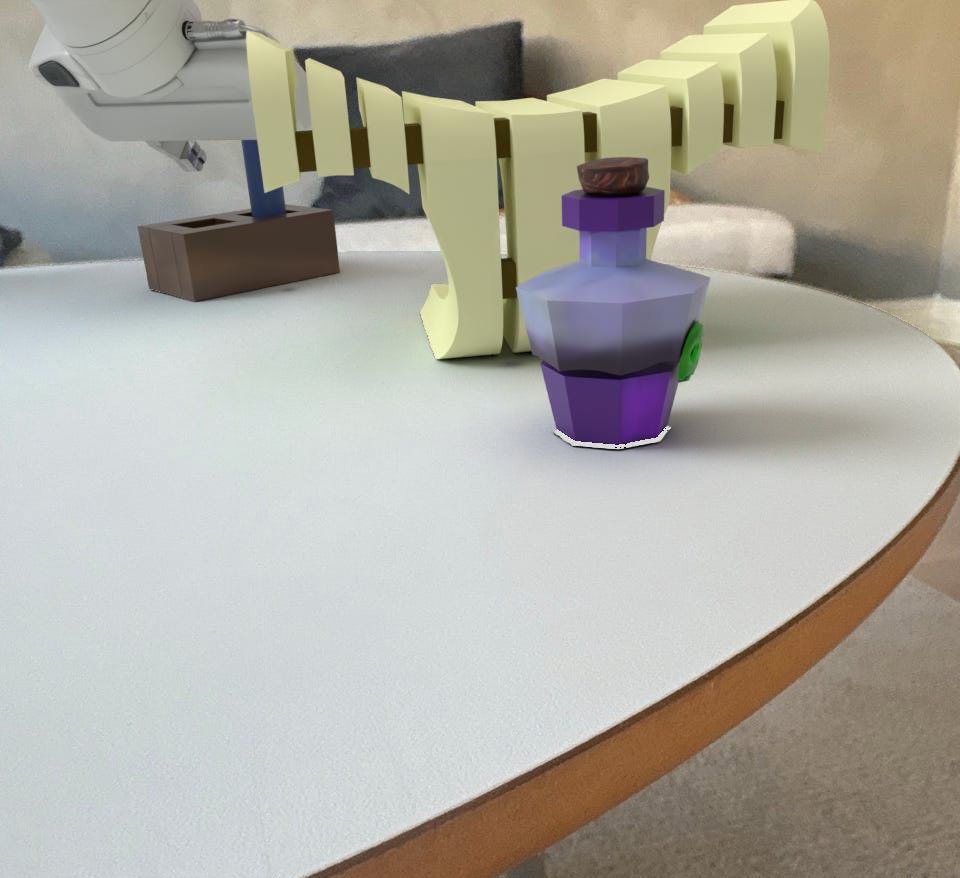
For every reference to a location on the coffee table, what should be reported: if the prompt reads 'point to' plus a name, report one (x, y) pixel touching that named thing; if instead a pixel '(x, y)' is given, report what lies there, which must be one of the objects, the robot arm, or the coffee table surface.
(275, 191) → the handle
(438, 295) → the slatted curved stool
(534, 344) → the potion bottle
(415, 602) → the coffee table surface
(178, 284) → the holder
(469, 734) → the coffee table surface
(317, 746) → the coffee table surface
